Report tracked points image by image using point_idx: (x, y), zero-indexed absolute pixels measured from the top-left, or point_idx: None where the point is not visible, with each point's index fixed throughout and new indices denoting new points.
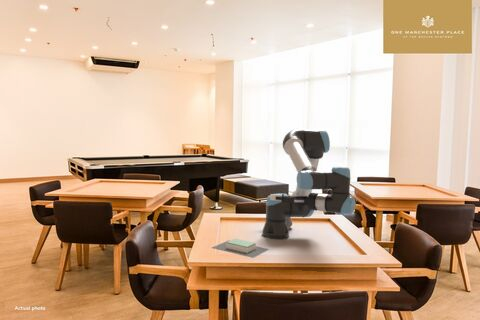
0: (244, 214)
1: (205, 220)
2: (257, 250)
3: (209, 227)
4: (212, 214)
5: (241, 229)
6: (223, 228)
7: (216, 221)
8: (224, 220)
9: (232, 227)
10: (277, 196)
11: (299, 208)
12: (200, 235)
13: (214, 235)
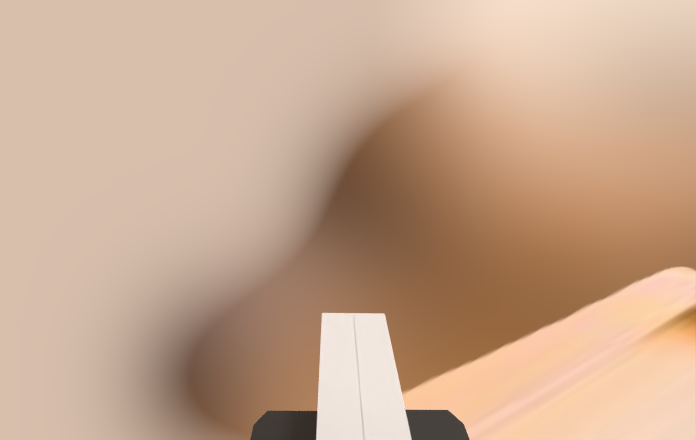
0: None
1: (591, 305)
2: None
3: (531, 355)
4: (685, 277)
5: (691, 436)
6: (590, 387)
7: (634, 324)
8: (689, 329)
9: (656, 397)
10: (307, 427)
11: None
12: None
13: None
